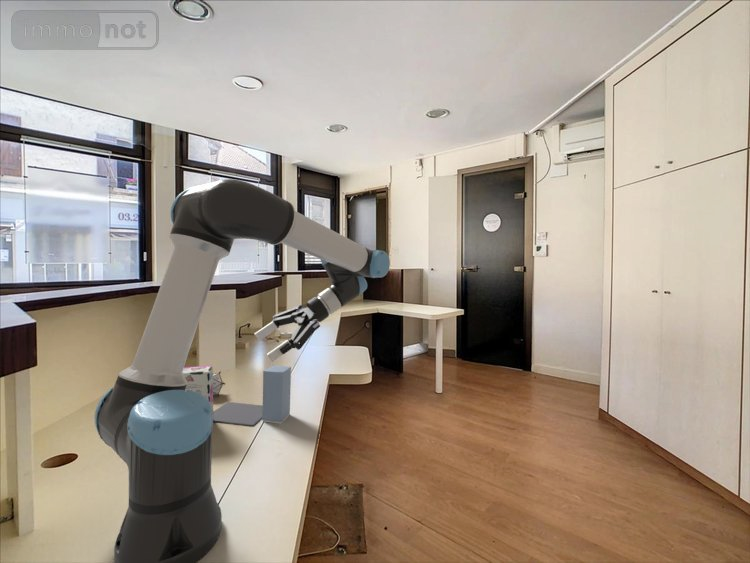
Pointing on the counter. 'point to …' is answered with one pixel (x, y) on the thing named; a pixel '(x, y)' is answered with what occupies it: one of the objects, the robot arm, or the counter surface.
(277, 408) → the plain blue-gray rectangular block
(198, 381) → the candy bar box
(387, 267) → the robot arm
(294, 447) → the counter surface
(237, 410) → the mat
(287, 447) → the counter surface
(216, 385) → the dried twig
